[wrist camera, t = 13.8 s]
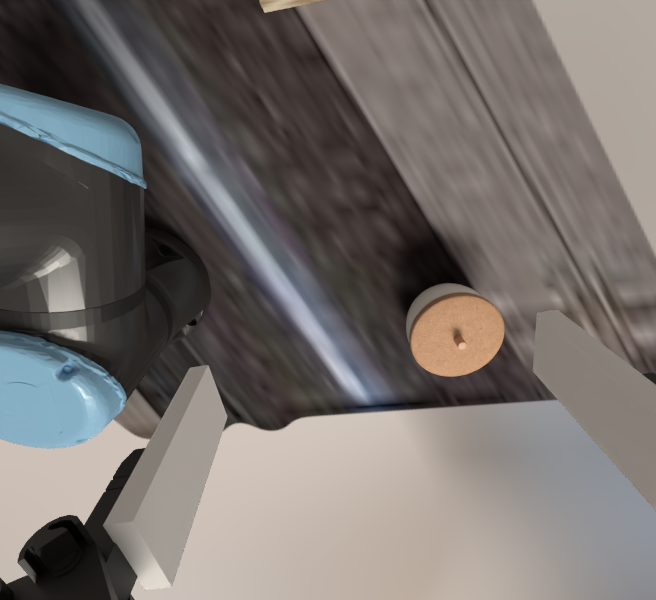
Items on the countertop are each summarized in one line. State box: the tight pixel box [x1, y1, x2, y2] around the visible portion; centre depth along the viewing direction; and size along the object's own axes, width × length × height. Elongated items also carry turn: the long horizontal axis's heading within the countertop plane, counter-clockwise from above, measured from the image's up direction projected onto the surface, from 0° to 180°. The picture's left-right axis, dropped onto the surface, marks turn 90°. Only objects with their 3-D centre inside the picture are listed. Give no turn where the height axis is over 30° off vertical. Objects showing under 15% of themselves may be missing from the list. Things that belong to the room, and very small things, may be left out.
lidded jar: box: [406, 283, 504, 376], centre depth 45 cm, size 11×11×9 cm
